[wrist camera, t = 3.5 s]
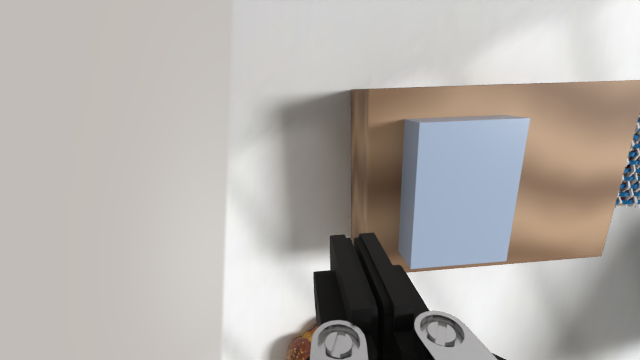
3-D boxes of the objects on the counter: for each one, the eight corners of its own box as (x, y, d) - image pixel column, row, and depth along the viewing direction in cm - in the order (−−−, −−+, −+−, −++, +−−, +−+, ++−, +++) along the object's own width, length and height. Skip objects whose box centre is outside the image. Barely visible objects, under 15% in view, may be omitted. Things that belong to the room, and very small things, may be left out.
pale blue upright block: (484, 243, 24) (506, 261, 21) (398, 250, 23) (410, 269, 21) (502, 114, 21) (530, 117, 18) (404, 118, 20) (419, 122, 18)
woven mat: (631, 202, 32) (653, 210, 30) (537, 205, 31) (554, 212, 29) (664, 100, 29) (691, 101, 27) (562, 99, 28) (582, 100, 26)
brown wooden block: (543, 225, 31) (601, 256, 25) (351, 239, 29) (365, 275, 24) (572, 82, 27) (648, 79, 21) (351, 89, 25) (368, 89, 20)
